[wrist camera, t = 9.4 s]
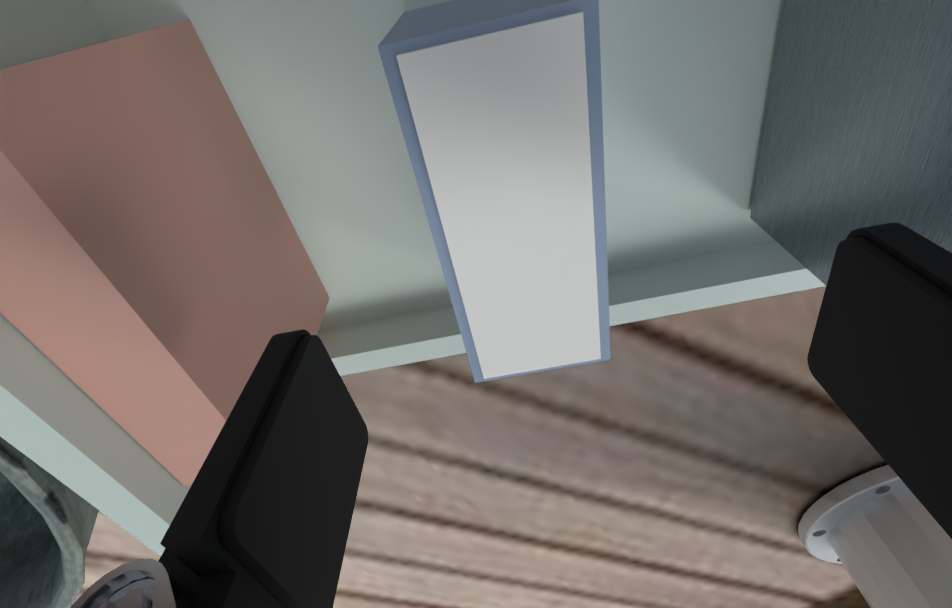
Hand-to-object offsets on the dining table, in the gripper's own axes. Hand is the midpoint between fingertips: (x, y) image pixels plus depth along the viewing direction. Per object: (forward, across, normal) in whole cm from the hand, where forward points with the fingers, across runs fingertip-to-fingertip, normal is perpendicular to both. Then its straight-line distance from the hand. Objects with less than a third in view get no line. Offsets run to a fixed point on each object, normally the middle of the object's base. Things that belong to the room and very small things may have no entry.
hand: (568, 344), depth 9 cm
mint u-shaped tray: (+10, +1, -1) cm, 10 cm away
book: (+9, +1, -1) cm, 9 cm away
